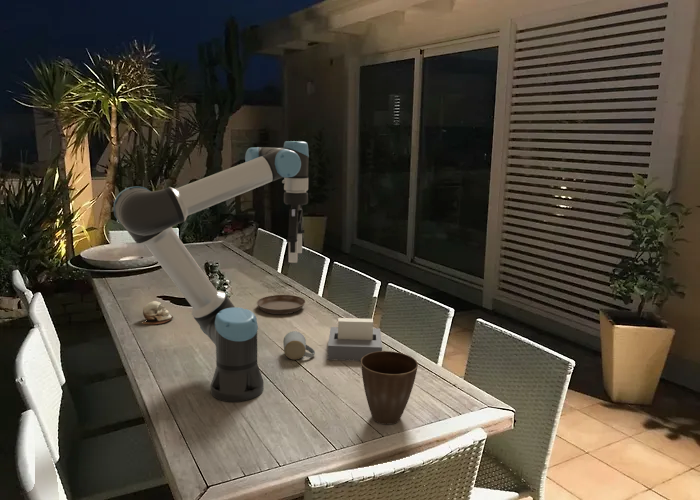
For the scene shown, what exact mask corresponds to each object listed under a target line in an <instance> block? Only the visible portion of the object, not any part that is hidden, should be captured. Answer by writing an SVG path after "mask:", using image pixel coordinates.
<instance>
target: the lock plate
mask: <svg viewBox="0 0 700 500" xmlns="http://www.w3.org/2000/svg"><path fill="white" fill-rule="evenodd" d="M381 333H382V332H381V328H379V327H378V328H377V327H375V328H374V327H373V340H351V339H338V326H330V329H329V336H328V343H327V361H351V362H352V361H354V362H355V361H357V362H361V359H362V357H363V356H365V355H367V354H369V353H372V352H378V351H383V343H382V334H381Z"/></svg>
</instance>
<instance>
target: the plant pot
mask: <svg viewBox="0 0 700 500" xmlns="http://www.w3.org/2000/svg"><path fill="white" fill-rule="evenodd" d="M418 364H419V363H418V361H417V360H416V359H415V358H414V357H412V356H411V355H408V354H406V353H403V352H397V351H392V350H382V351H378V352H372V353H369V354H367V355H365V356H363V357H362V359H361V361H360V367H361V375H362V377H361V378H362V382H363V387H364V388H363V389H364V393H365V398H366V402H367V405H368V408H369V411H370V415H371V417H372V419H373V420H374V422H376V423H379V424H381V425H394V424H397V423H398V422H399V421H400V419H401V418H402V416H403V414H404V411H405V409H406V407H407V405H408V402H409V399H410V396H411V393H412V391H413V387H414V385H415V380H416V376H417V373H418V367H419V365H418Z"/></svg>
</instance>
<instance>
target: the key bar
mask: <svg viewBox="0 0 700 500" xmlns="http://www.w3.org/2000/svg"><path fill="white" fill-rule="evenodd" d="M337 320H338V321H337V322H338V323H337V327H338V339H351V340H373V328H374V319H373V318H359V317H358V318H354V317H352V318H351V317H348V318H346V317H338V319H337Z"/></svg>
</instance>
